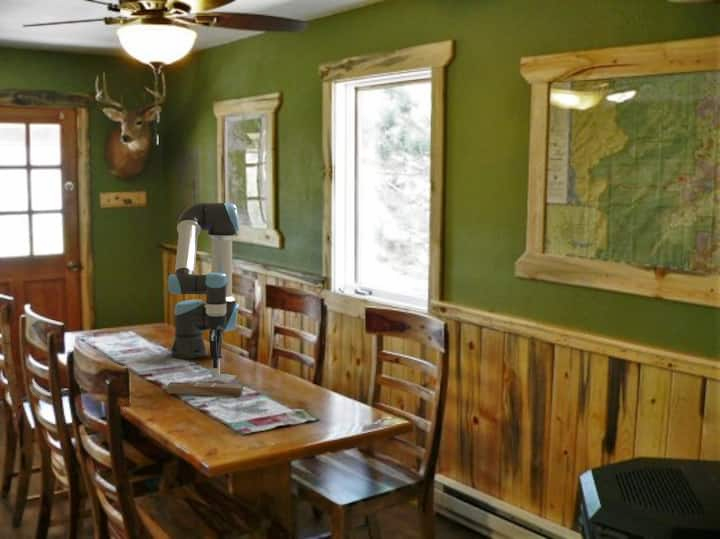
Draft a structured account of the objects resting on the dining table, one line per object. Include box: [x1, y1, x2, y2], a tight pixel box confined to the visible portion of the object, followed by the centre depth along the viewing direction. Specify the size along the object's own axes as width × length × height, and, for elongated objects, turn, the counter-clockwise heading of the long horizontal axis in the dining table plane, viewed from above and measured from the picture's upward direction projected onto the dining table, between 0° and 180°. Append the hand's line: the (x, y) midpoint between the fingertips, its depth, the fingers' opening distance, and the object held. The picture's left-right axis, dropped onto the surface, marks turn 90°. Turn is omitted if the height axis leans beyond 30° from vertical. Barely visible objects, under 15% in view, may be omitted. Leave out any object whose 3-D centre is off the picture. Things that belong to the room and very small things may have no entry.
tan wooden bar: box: [166, 381, 244, 397], centre depth 278 cm, size 4×26×3 cm, turn 88°
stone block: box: [205, 373, 237, 384], centre depth 287 cm, size 12×5×10 cm
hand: (215, 375), depth 295 cm, fingers closed
